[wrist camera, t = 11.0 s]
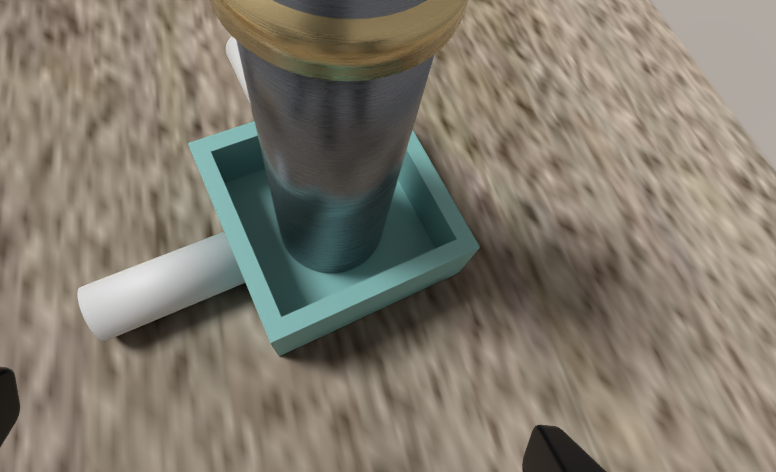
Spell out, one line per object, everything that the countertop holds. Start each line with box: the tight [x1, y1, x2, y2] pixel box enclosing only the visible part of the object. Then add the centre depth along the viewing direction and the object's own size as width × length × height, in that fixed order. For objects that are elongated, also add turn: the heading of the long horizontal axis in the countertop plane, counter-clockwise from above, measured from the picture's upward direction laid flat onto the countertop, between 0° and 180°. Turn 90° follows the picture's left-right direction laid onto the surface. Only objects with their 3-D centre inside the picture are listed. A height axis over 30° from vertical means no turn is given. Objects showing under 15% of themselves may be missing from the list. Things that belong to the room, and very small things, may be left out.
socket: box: [78, 37, 480, 356], centre depth 19 cm, size 13×13×3 cm
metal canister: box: [209, 0, 468, 273], centre depth 13 cm, size 5×5×13 cm
